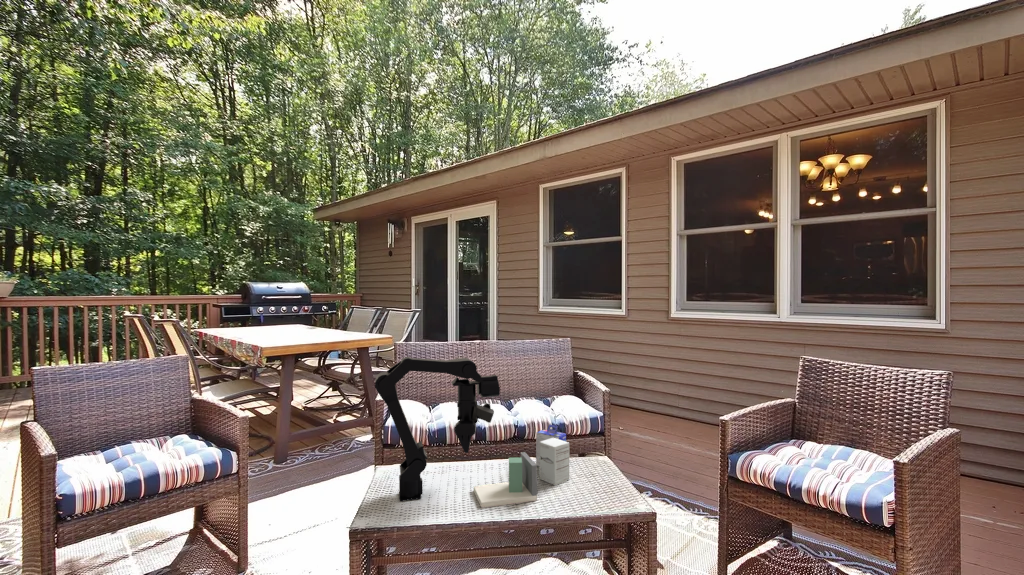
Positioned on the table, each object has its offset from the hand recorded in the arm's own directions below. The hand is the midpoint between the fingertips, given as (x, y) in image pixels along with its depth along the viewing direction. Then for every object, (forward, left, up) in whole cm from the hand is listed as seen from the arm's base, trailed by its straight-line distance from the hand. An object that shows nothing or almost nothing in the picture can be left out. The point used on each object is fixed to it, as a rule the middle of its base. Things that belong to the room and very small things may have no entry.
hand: (467, 447), depth 149 cm
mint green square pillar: (+13, -8, -12) cm, 19 cm away
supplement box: (+29, -1, -13) cm, 32 cm away
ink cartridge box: (+32, +10, -13) cm, 36 cm away
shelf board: (+10, -8, -13) cm, 18 cm away
